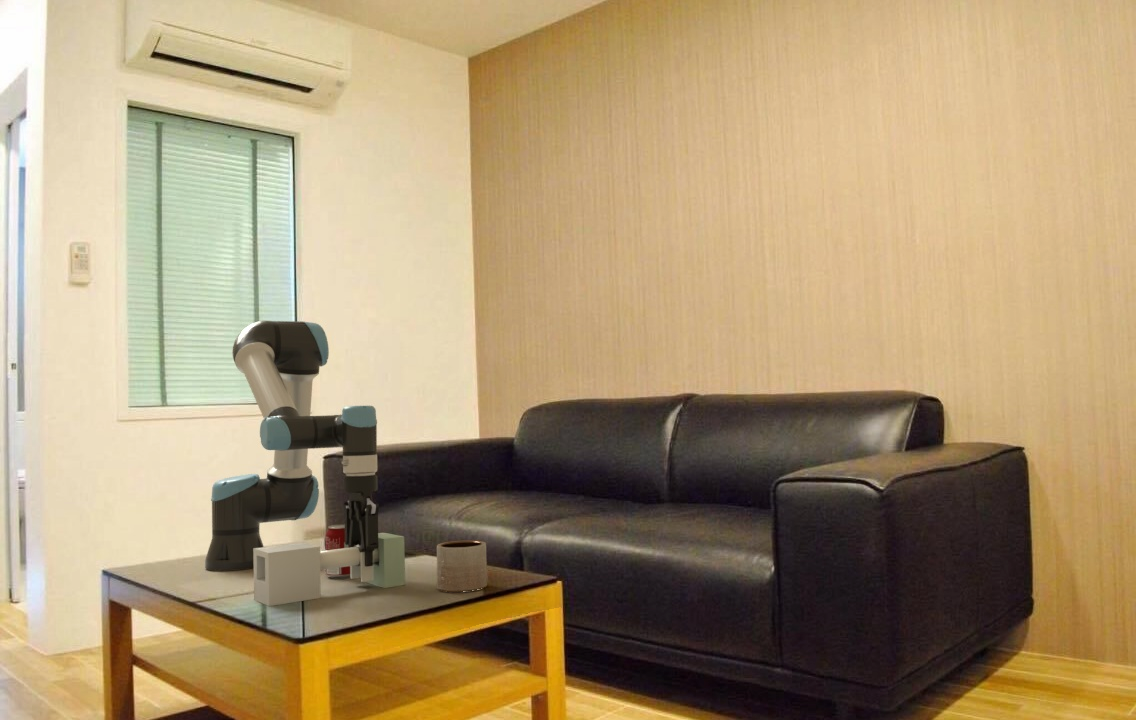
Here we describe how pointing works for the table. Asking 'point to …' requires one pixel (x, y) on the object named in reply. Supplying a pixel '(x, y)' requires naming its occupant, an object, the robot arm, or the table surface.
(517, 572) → the table surface
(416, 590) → the table surface
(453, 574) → the planter
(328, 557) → the slip tube
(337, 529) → the soda can
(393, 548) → the socket block
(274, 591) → the sleeve block
